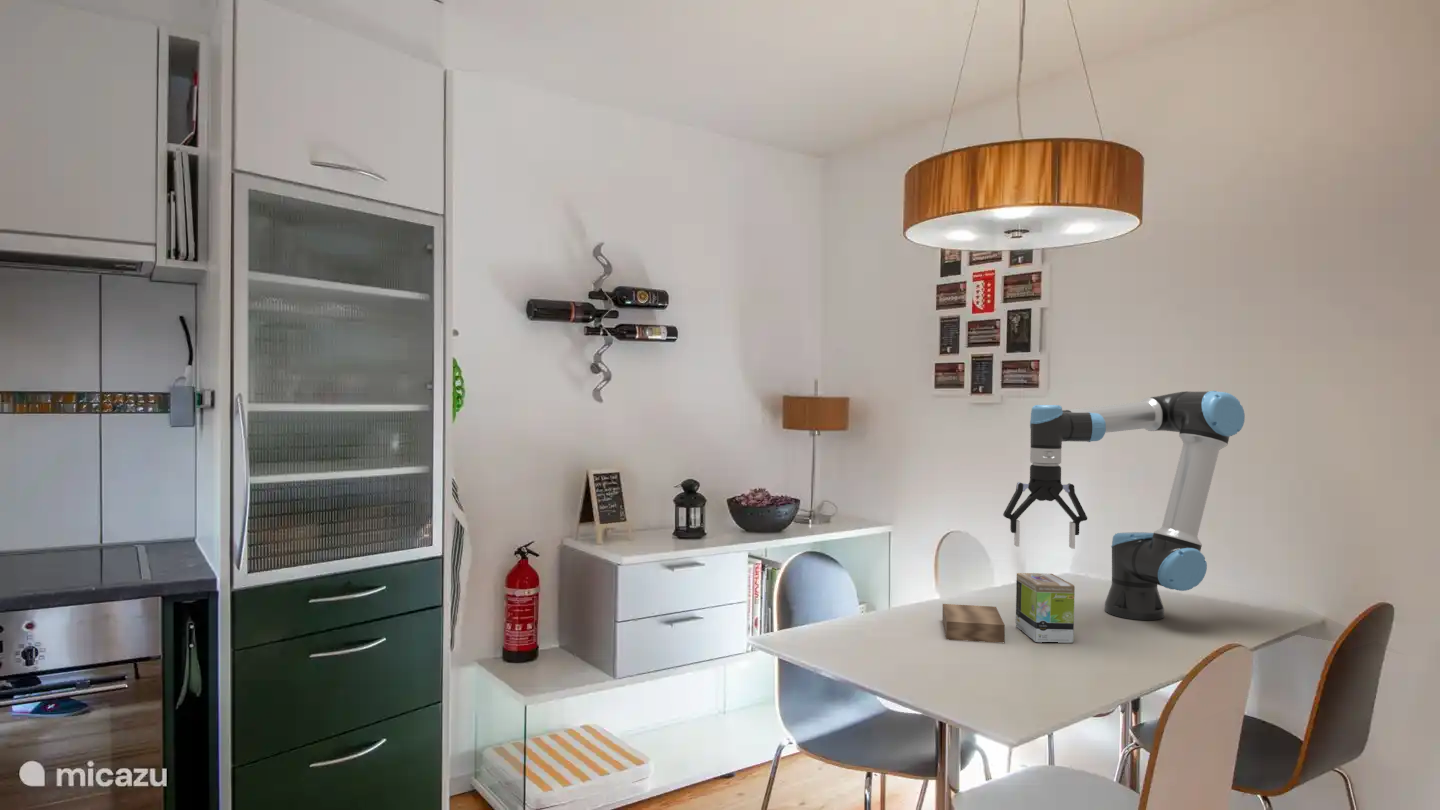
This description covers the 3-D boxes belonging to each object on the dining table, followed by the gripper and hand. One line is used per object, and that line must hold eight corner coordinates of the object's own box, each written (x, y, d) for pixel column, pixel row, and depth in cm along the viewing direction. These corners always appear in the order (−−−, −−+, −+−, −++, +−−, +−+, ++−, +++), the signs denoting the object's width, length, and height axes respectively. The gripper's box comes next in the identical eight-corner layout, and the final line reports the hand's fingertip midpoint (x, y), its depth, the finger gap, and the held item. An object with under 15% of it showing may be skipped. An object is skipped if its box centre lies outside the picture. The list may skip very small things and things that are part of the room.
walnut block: (995, 625, 226) (995, 606, 226) (1004, 644, 208) (1004, 624, 208) (942, 621, 229) (942, 603, 229) (946, 641, 211) (946, 621, 211)
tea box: (1075, 643, 208) (1075, 584, 208) (1034, 643, 208) (1035, 584, 208) (1052, 626, 223) (1052, 571, 223) (1014, 626, 223) (1014, 571, 223)
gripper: (997, 464, 213) (996, 547, 214) (1101, 466, 209) (1099, 551, 210) (992, 462, 221) (991, 542, 221) (1092, 464, 217) (1091, 545, 217)
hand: (1044, 546), depth 215 cm, fingers open, 13 cm apart
